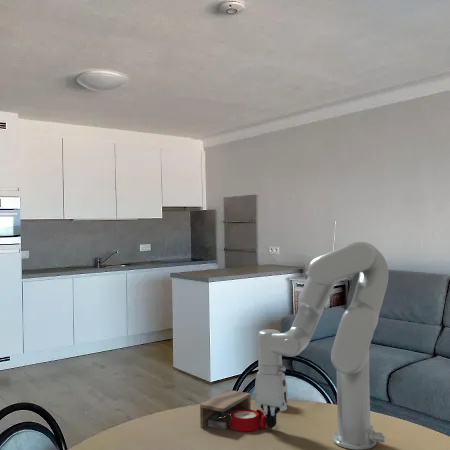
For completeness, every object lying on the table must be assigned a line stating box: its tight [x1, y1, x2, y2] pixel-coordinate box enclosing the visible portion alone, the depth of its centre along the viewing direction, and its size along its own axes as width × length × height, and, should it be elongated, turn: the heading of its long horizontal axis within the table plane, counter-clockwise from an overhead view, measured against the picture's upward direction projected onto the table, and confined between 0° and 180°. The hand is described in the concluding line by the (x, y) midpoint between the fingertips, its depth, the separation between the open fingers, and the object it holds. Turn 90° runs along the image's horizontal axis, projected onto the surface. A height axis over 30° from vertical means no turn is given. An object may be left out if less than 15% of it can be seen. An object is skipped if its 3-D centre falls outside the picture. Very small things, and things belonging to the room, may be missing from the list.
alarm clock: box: [226, 409, 267, 432], centre depth 159 cm, size 10×6×15 cm
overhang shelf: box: [199, 389, 252, 431], centre depth 163 cm, size 9×18×8 cm, turn 149°
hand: (271, 426), depth 154 cm, fingers closed
